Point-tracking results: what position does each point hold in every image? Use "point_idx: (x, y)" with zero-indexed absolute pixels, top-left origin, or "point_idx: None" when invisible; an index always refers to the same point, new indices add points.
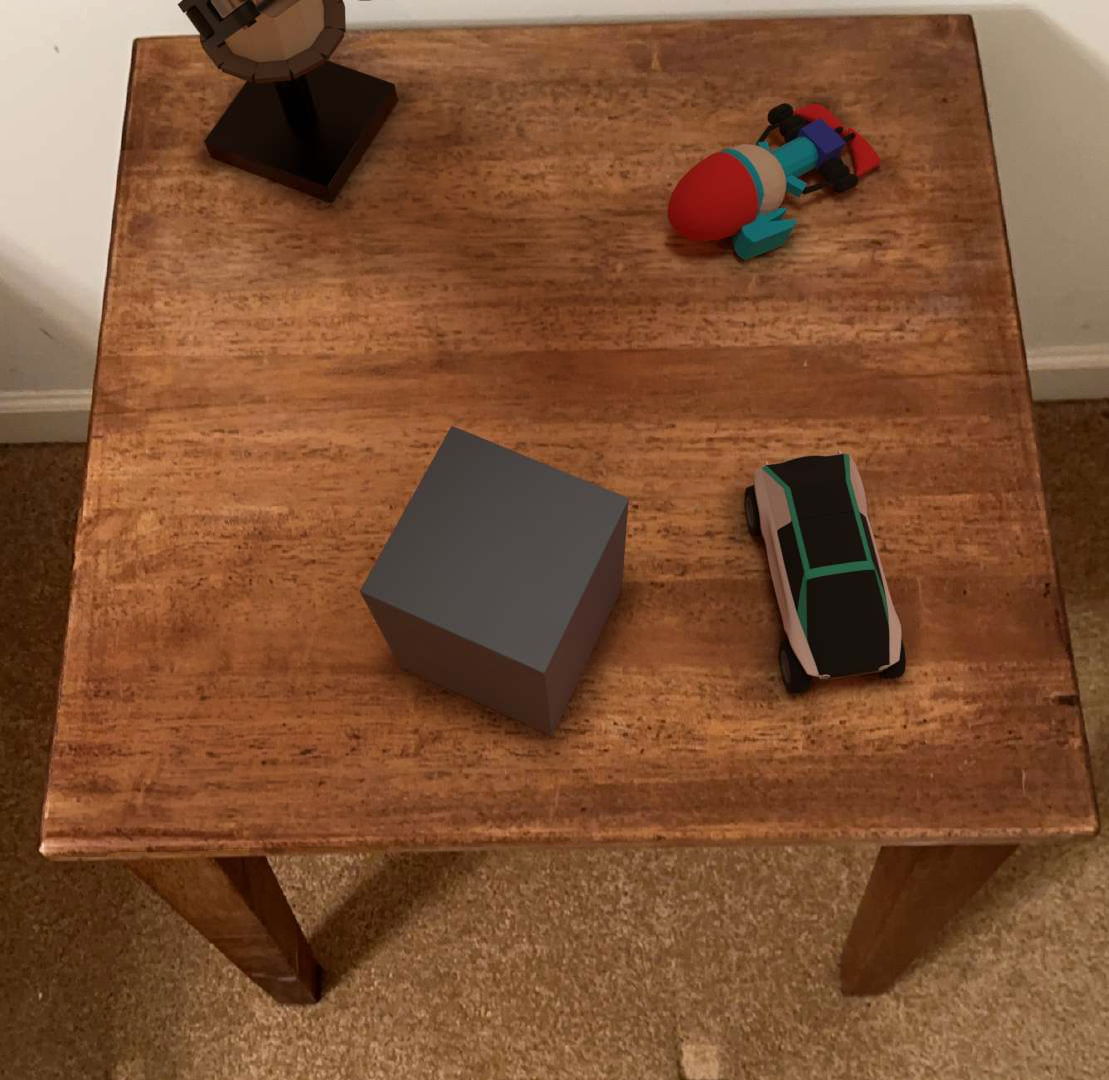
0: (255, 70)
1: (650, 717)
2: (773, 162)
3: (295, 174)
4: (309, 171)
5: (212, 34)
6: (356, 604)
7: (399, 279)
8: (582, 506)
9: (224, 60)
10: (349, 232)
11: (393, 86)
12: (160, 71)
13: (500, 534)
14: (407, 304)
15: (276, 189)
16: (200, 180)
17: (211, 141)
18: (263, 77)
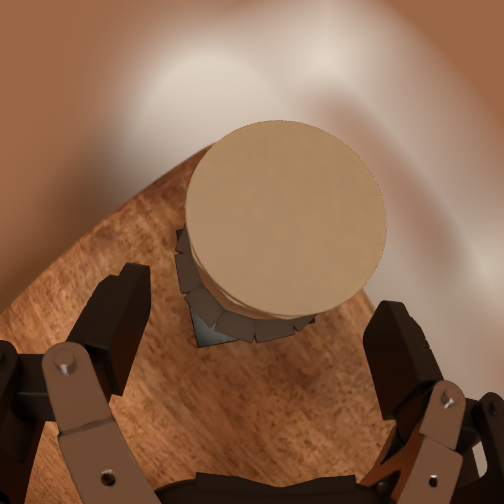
0: (192, 291)
1: None
2: None
3: (192, 317)
4: (201, 324)
5: (10, 413)
6: (27, 493)
7: (177, 428)
8: None
9: (184, 252)
10: (186, 374)
11: (312, 322)
12: None
13: None
14: (165, 444)
15: (183, 299)
16: (157, 243)
17: (179, 235)
18: (190, 304)
